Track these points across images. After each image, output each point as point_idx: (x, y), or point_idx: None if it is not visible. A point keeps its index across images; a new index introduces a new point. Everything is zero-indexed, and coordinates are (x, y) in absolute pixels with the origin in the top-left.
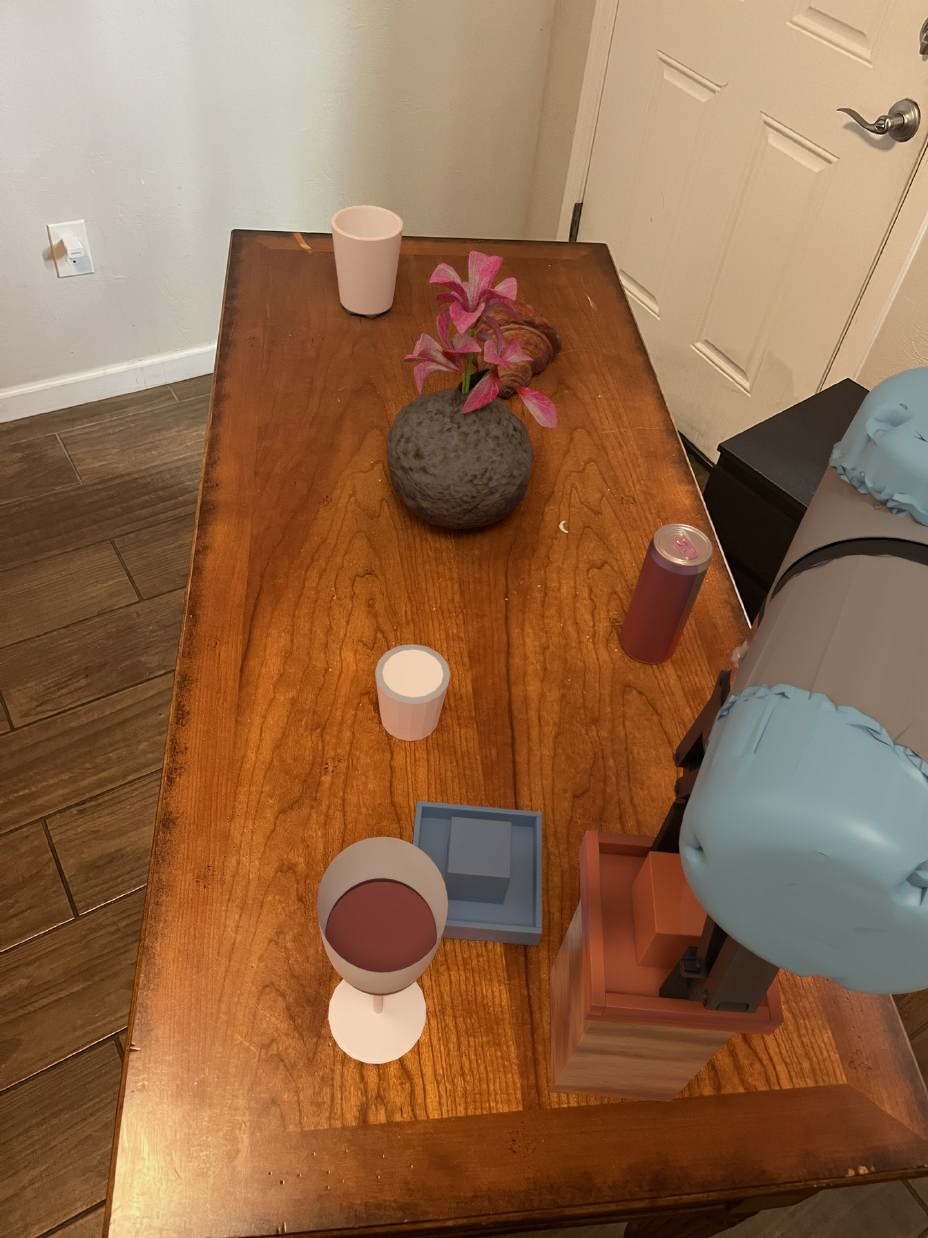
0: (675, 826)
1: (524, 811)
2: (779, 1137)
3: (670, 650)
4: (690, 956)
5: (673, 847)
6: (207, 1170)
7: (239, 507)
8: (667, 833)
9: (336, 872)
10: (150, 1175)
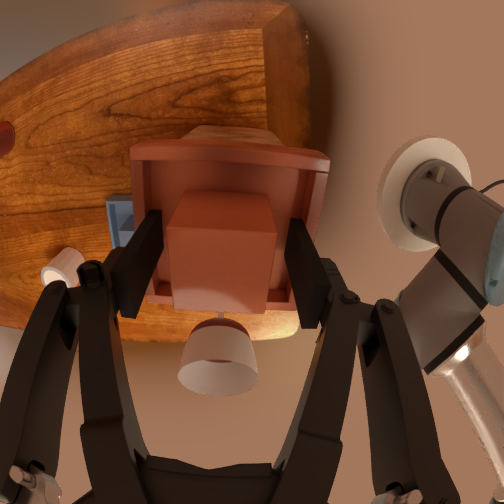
0: (141, 292)
1: (107, 211)
2: (290, 73)
3: (5, 128)
4: (313, 328)
5: (152, 256)
6: (282, 318)
7: (23, 321)
8: (146, 285)
9: (197, 379)
10: (282, 331)
